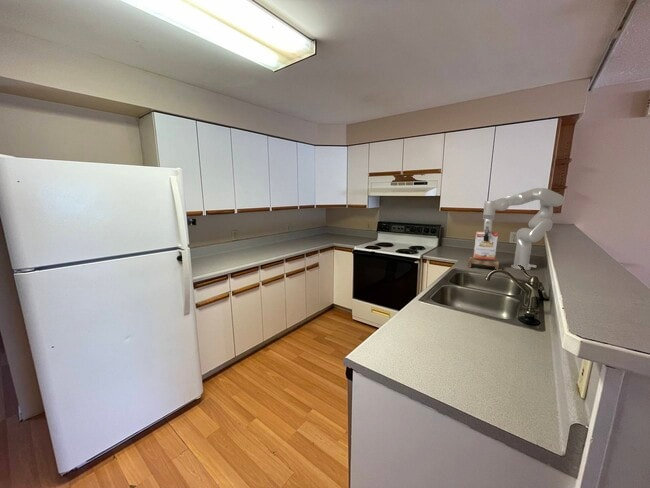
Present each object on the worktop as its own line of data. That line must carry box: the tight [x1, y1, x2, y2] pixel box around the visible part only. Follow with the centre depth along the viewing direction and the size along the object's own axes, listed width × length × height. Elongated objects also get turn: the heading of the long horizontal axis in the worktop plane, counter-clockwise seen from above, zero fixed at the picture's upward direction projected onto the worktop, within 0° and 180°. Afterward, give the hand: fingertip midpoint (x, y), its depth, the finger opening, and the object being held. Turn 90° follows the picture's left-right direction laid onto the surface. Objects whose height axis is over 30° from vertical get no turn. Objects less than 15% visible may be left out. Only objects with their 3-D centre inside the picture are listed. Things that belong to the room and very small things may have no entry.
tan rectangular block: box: [467, 256, 500, 270], centre depth 209 cm, size 20×14×6 cm
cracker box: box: [472, 231, 499, 260], centre depth 206 cm, size 14×6×21 cm, turn 70°
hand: (486, 240), depth 205 cm, fingers closed on cracker box, 6 cm apart
